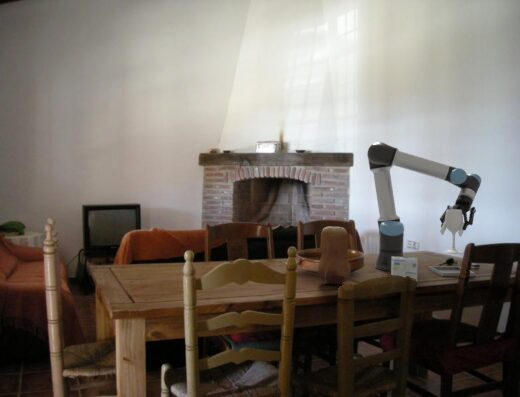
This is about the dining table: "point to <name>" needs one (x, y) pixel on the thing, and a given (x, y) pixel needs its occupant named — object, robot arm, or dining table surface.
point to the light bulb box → (404, 266)
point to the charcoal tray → (448, 271)
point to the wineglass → (453, 226)
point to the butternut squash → (334, 256)
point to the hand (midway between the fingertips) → (450, 233)
